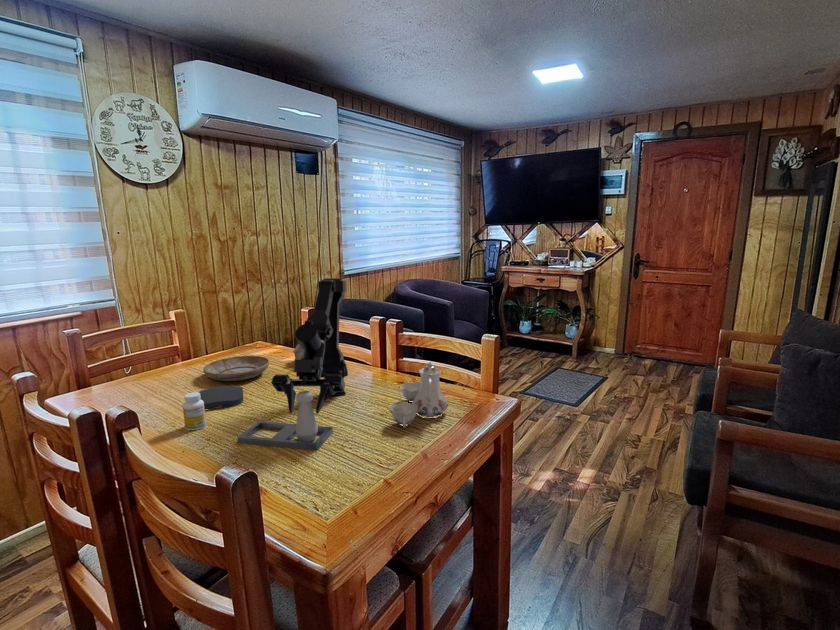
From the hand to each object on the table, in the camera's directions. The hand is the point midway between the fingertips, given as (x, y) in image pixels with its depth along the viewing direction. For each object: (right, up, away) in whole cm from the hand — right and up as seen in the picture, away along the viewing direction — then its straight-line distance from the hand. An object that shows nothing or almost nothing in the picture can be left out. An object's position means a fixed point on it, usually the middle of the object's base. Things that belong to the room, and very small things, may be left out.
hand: (303, 413), depth 117 cm
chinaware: (+30, -4, +20) cm, 36 cm away
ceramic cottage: (-13, +6, +72) cm, 74 cm away
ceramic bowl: (-39, +2, +55) cm, 68 cm away
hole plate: (-6, -7, +4) cm, 10 cm away
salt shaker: (0, -8, +3) cm, 8 cm away
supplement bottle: (-34, -7, +11) cm, 36 cm away
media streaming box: (-36, -3, +31) cm, 47 cm away
